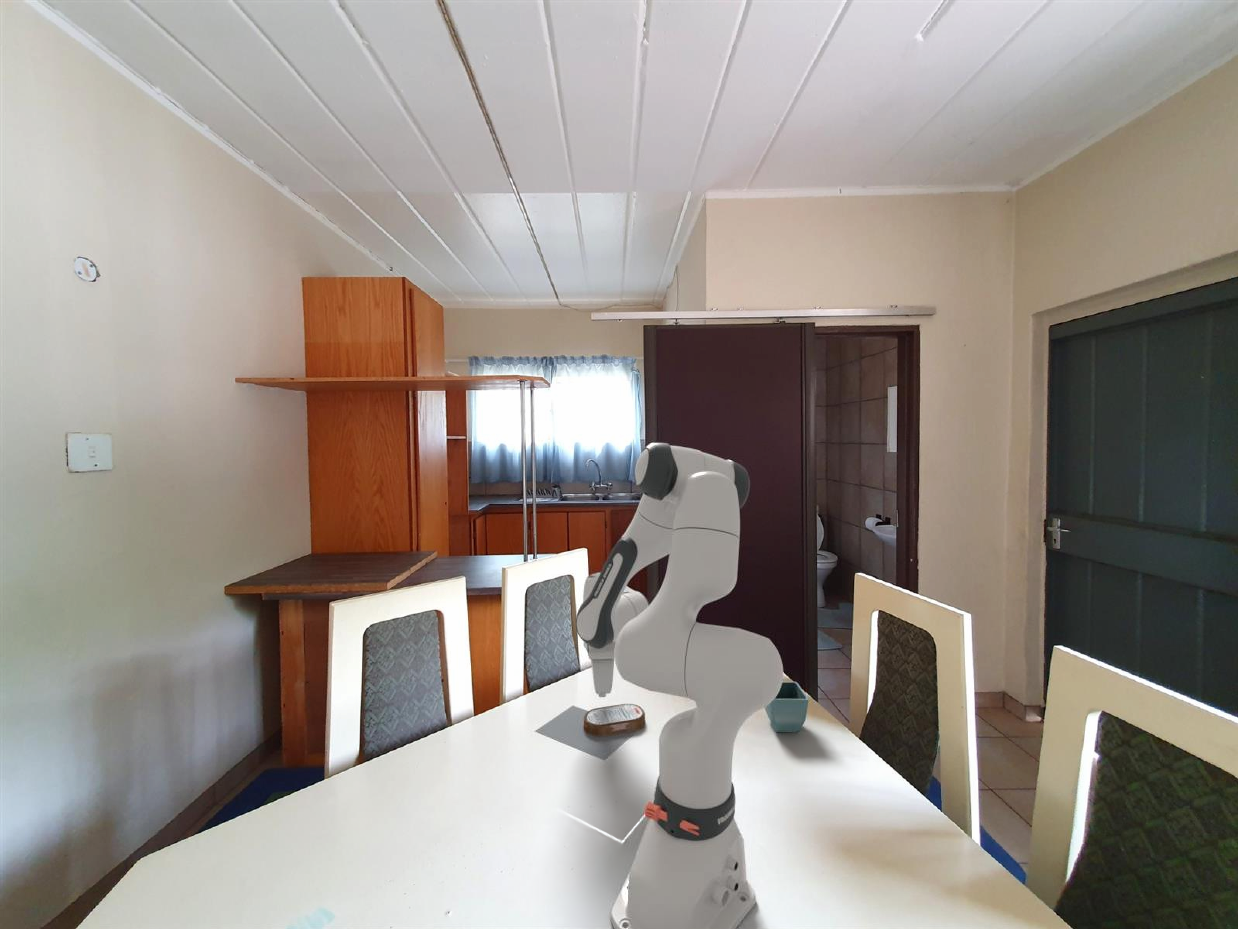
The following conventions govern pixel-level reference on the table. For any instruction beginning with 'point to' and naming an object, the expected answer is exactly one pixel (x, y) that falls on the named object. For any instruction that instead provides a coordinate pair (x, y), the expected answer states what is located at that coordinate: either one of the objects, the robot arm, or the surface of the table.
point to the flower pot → (788, 708)
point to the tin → (614, 720)
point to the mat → (581, 734)
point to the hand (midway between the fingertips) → (602, 694)
